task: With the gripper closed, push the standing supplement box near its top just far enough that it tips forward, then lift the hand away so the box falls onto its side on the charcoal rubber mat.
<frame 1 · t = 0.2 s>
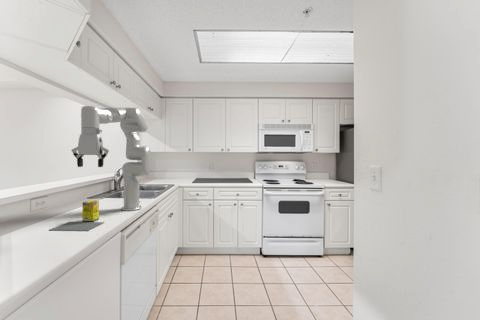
hand: (90, 166, 120), 31 cm above the countertop, tool pointing down, fingers open, 9 cm apart
supplement box: (90, 221, 135), on the countertop
topple mat: (78, 226, 125), on the countertop
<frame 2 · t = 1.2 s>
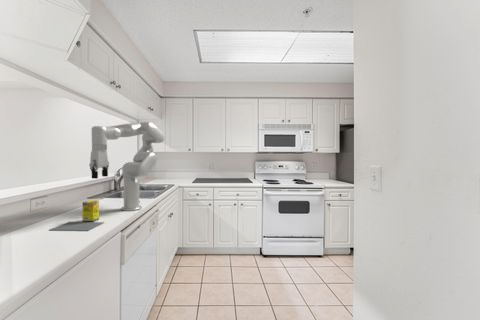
hand: (100, 177, 142), 23 cm above the countertop, tool pointing down, fingers open, 9 cm apart
nothing on the countertop moved.
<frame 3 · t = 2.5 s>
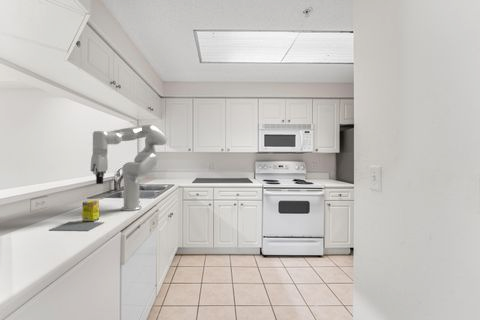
hand: (99, 183, 144), 20 cm above the countertop, tool pointing down, fingers closed
nothing on the countertop moved.
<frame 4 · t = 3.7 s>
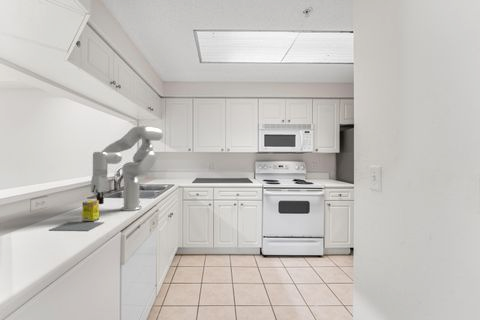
hand: (100, 203, 144), 8 cm above the countertop, tool pointing down, fingers closed
nothing on the countertop moved.
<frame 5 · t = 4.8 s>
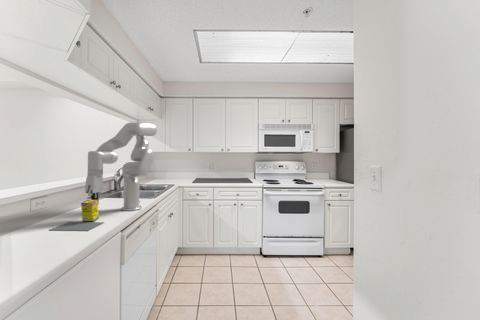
hand: (94, 204, 139), 8 cm above the countertop, tool pointing down, fingers closed
supplement box: (90, 220, 135), on the countertop, touching gripper
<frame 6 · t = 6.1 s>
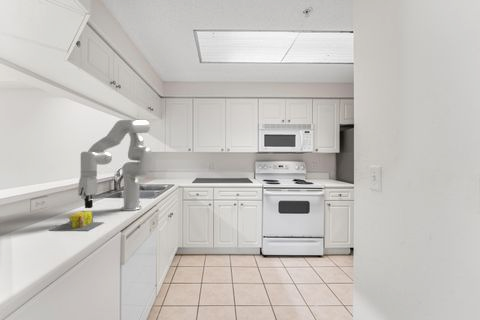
hand: (88, 207, 133), 8 cm above the countertop, tool pointing down, fingers closed
supplement box: (88, 216, 133), point 3 cm above the countertop, touching topple mat
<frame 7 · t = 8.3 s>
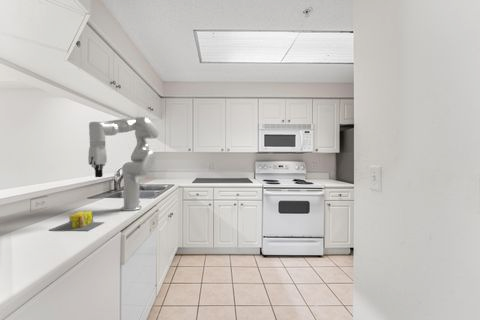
hand: (99, 176, 137), 24 cm above the countertop, tool pointing down, fingers closed
nothing on the countertop moved.
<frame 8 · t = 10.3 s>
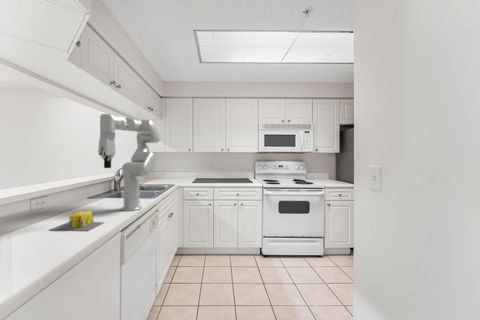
hand: (107, 167, 141), 29 cm above the countertop, tool pointing down, fingers closed
nothing on the countertop moved.
at the end: supplement box tilted 90°; supplement box touching topple mat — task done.
